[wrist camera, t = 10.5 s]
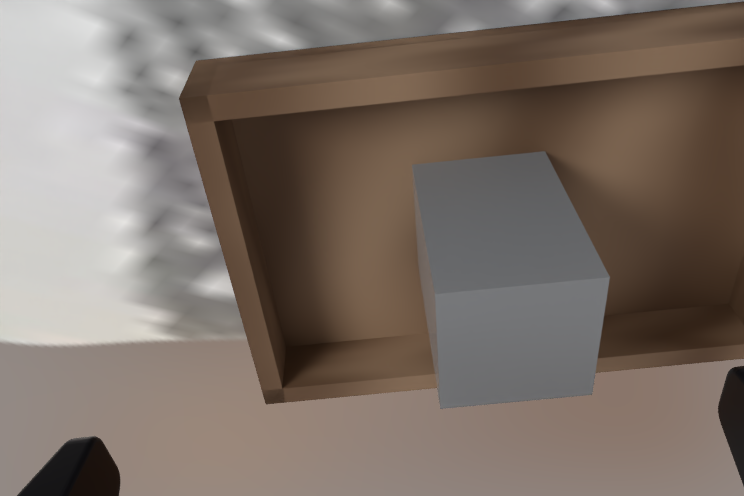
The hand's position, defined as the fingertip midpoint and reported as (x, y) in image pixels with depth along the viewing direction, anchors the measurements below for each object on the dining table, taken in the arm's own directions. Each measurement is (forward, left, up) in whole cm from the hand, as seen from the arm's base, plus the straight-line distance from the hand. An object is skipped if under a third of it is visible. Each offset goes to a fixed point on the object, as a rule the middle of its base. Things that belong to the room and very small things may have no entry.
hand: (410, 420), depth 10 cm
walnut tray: (-4, +4, -12) cm, 13 cm away
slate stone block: (-3, +4, -12) cm, 13 cm away
